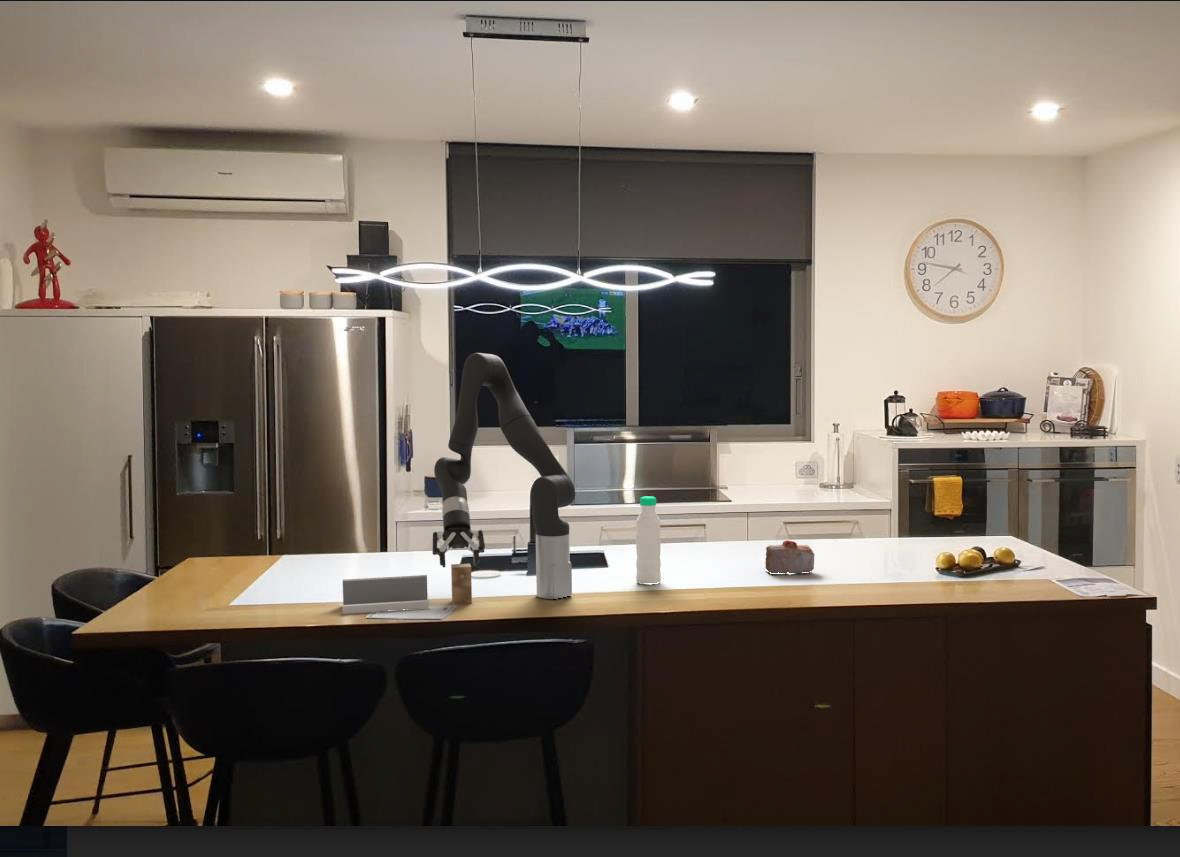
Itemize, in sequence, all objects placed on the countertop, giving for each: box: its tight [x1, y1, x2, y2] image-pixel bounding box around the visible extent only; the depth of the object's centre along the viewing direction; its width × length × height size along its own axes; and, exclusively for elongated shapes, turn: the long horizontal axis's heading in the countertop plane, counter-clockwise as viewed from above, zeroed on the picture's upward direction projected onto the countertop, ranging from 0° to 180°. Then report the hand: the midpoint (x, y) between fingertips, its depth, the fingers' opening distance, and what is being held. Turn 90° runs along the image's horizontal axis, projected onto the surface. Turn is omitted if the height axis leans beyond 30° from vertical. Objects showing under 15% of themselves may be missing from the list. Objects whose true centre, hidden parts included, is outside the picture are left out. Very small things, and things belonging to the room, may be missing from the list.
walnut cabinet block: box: [450, 563, 473, 605], centre depth 265 cm, size 5×5×10 cm
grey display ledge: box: [341, 574, 430, 615], centre depth 261 cm, size 22×9×7 cm, turn 102°
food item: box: [764, 540, 816, 573], centre depth 297 cm, size 14×8×10 cm, turn 95°
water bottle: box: [635, 495, 662, 583], centre depth 285 cm, size 7×7×25 cm
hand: (459, 565), depth 269 cm, fingers open, 8 cm apart
